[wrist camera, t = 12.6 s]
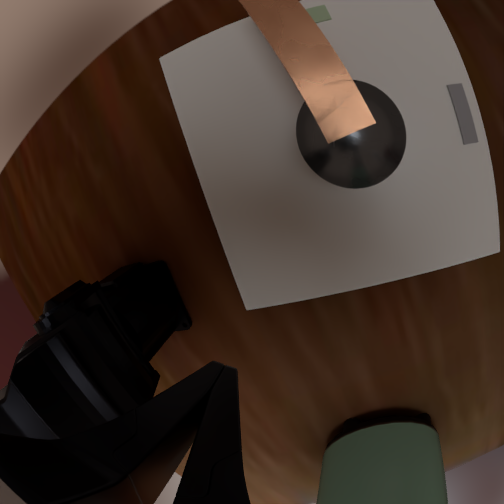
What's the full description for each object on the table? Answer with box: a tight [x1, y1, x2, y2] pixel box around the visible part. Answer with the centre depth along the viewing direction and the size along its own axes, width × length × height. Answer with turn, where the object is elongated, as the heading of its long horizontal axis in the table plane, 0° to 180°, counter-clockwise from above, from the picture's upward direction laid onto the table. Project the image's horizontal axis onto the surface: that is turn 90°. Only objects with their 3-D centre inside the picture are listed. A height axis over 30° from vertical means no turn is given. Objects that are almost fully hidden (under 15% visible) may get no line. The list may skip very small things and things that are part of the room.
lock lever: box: [238, 0, 406, 189], centre depth 13 cm, size 12×5×5 cm, turn 29°
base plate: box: [159, 0, 500, 310], centre depth 17 cm, size 20×20×1 cm
